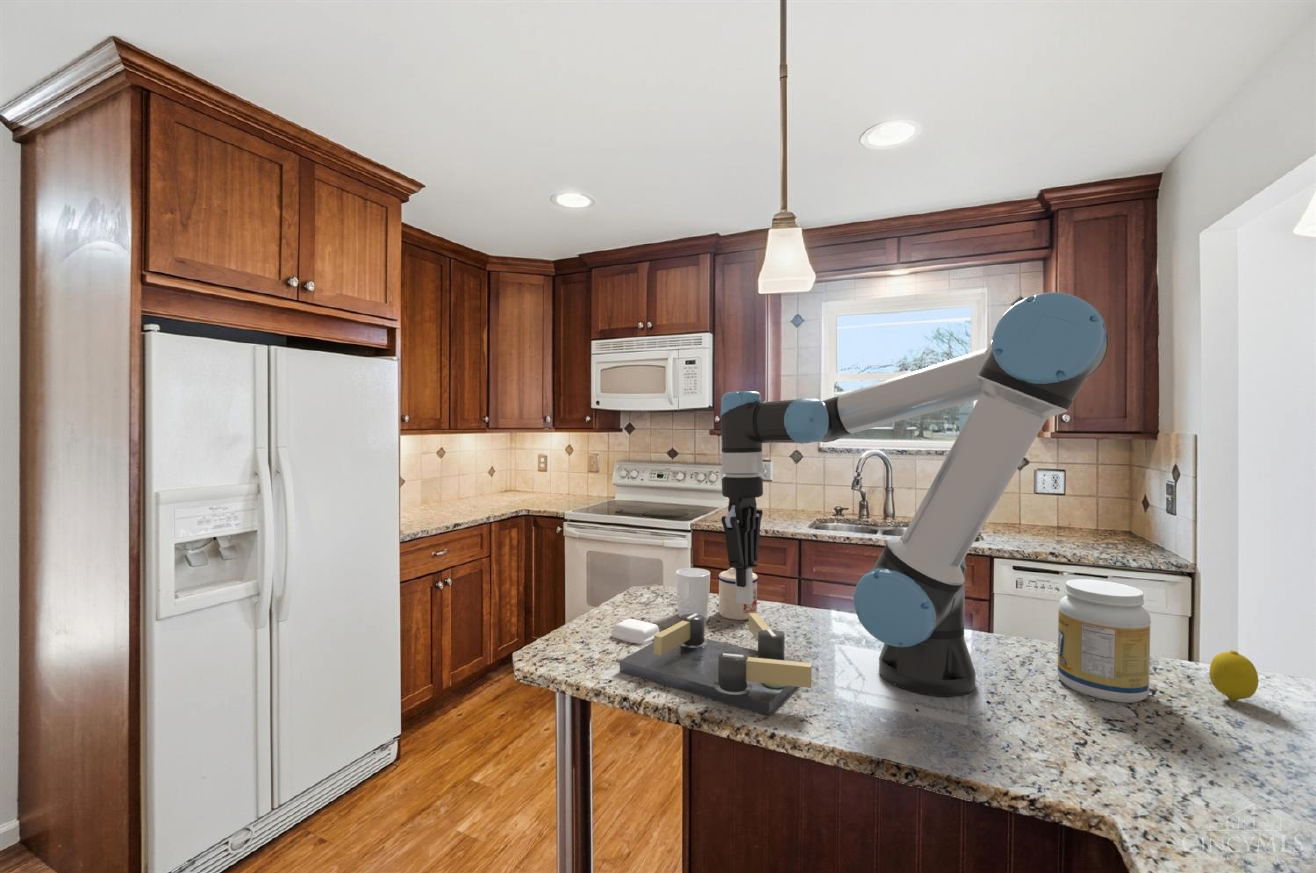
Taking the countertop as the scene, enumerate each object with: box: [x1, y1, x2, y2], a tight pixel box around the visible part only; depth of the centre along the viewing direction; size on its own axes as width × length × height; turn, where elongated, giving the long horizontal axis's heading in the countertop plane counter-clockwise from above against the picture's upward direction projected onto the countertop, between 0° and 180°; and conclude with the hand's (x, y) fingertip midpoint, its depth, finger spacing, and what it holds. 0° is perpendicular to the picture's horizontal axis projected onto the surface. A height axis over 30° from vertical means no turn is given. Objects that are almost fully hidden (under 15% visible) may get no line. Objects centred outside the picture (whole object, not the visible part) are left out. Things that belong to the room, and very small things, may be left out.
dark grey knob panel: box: [619, 637, 810, 717], centre depth 102 cm, size 28×19×2 cm
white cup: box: [675, 567, 711, 619], centre depth 134 cm, size 8×8×10 cm
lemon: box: [1209, 650, 1259, 702], centre depth 93 cm, size 6×6×8 cm
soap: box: [610, 618, 661, 646], centre depth 121 cm, size 9×7×3 cm
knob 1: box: [653, 613, 706, 656], centre depth 108 cm, size 14×5×5 cm, turn 146°
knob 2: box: [748, 612, 786, 660], centre depth 108 cm, size 14×5×5 cm, turn 6°
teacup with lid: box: [717, 567, 759, 621], centre depth 136 cm, size 12×9×12 cm
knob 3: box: [718, 651, 812, 691], centre depth 92 cm, size 14×5×5 cm, turn 76°
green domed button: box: [763, 683, 787, 688], centre depth 94 cm, size 4×4×1 cm
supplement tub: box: [1056, 578, 1152, 703], centre depth 97 cm, size 12×12×17 cm
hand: (744, 602), depth 108 cm, fingers closed
